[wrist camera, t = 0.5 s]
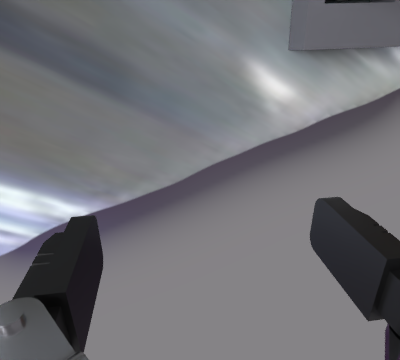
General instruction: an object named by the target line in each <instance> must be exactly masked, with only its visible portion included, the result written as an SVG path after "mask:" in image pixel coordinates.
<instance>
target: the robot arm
mask: <svg viewBox="0 0 400 360" xmlns="http://www.w3.org/2000/svg"><path fill="white" fill-rule="evenodd" d="M310 241H311V245H312V247H313V250H314V251H315V252H316V254H317V255H318V256H319V257H320V259H321V260H322V262H323V263H324V264H325V265H326V267H327V268H328V269H329V271H330V272H331V273H332V275H333V276H334V277H335V278H336V280H337V281H338V282H339V284H340V285H341V286H342V288H343V289H344V290H345V292H346V293H347V294H348V296H349V297H350V298H351V299H352V301H353V302H354V303H355V305H356V306H357V307H358V309H359V310H360V311H361V312H362V314H363V315H364V317H365V318H366V319H367V320H368V321H372V320H380V319H385V320H386V321H387V323H388V324H387V327H386V330H385V360H400V241H399V240H398V239H397V238H396V237H394V236H393V235H392V234H391V233H388V231H387V230H386V229H384V228H383V227H382V226H379V224H378V223H377V222H376V221H375V220H373V219H372V218H371V217H370V216H368V215H366V214H364V213H362V212H360V211H358V210H356V209H354V208H352V207H351V206H350V205H349V204H348V203H346V202H345V201H344V200H343V199H342V198H340V197H332V198H319V199H318V200H317V201H316V203H315V208H314V213H313V219H312V225H311V231H310ZM102 270H103V252H102V246H101V240H100V235H99V229H98V224H97V219H96V217H95V216H94V215H92V216H79V217H71V219H70V221H69V223H68V225H67V227H66V229H65V231H64V232H61V233H55V234H54V235H52V236H51V237H50V238H49V239H48V240H46V241H45V242H44V243H43V245H42V247H41V248H40V250H39V252H38V254H37V256H36V257H35V259H34V261H33V263H32V266H30V268H29V270H28V272H27V274H26V276H25V277H24V279H23V281H22V283H21V285H20V287H19V288H18V290H17V292H16V294H15V295H14V297H13V299H12V300H11V301H8V302H6V303H4V304H2V305H0V360H88V358H87V357H86V355H85V354H84V353H83V352H84V349H85V344H86V340H87V336H88V331H89V327H90V322H91V318H92V314H93V309H94V305H95V301H96V296H97V292H98V288H99V283H100V279H101V275H102Z"/></svg>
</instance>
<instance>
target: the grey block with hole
mask: <svg viewBox="0 0 400 360" xmlns="http://www.w3.org/2000/svg"><path fill="white" fill-rule="evenodd" d="M398 46H400V0H371V2H370V3H331V4H325V0H292V12H291V25H290V37H289V50H319V49H345V48H371V47H398Z"/></svg>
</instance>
